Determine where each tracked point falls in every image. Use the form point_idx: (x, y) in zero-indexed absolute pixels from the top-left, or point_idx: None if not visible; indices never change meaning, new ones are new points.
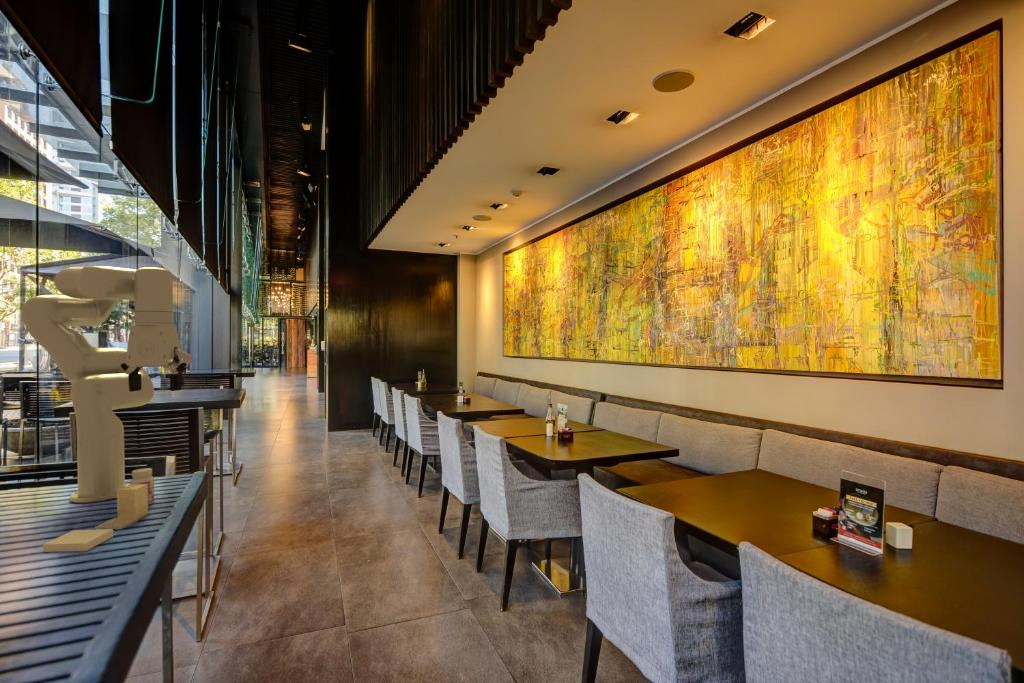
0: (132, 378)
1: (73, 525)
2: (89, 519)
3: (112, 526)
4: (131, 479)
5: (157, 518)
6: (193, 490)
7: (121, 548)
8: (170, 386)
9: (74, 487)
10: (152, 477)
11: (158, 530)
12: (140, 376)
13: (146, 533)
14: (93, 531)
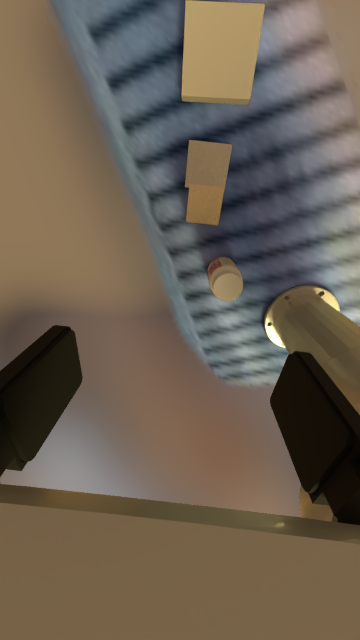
0: (331, 416)
1: (276, 175)
2: (265, 204)
3: (203, 142)
4: (240, 276)
5: (161, 194)
6: (180, 321)
7: (129, 18)
8: (58, 341)
9: None
10: (210, 285)
11: (124, 125)
12: (301, 474)
13: (134, 110)
14: (209, 85)
